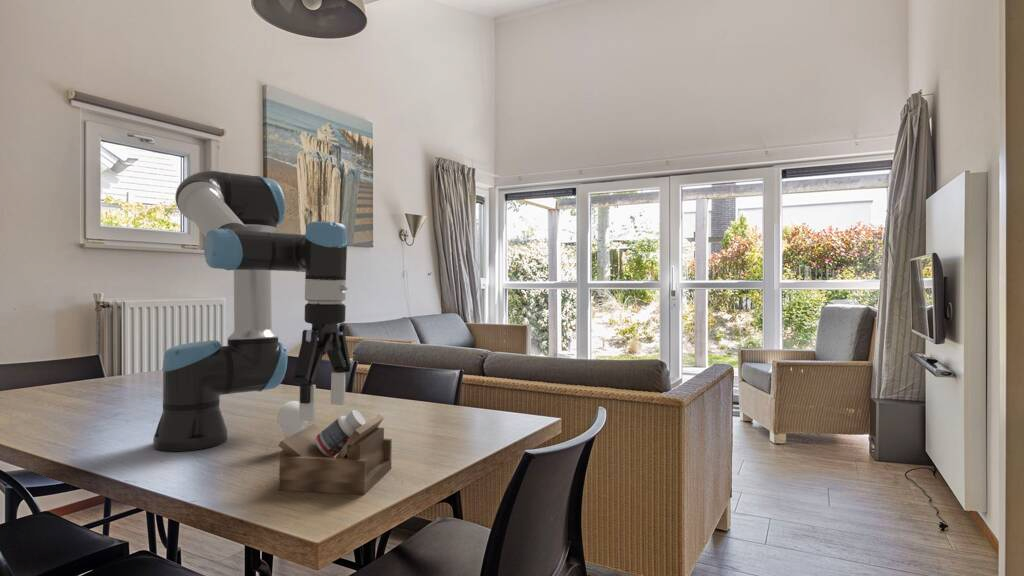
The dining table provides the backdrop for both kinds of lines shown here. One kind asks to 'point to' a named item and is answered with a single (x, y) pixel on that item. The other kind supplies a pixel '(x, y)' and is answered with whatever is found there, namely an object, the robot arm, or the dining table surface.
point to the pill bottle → (338, 433)
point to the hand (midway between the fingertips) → (323, 412)
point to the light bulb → (290, 418)
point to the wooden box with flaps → (335, 461)
